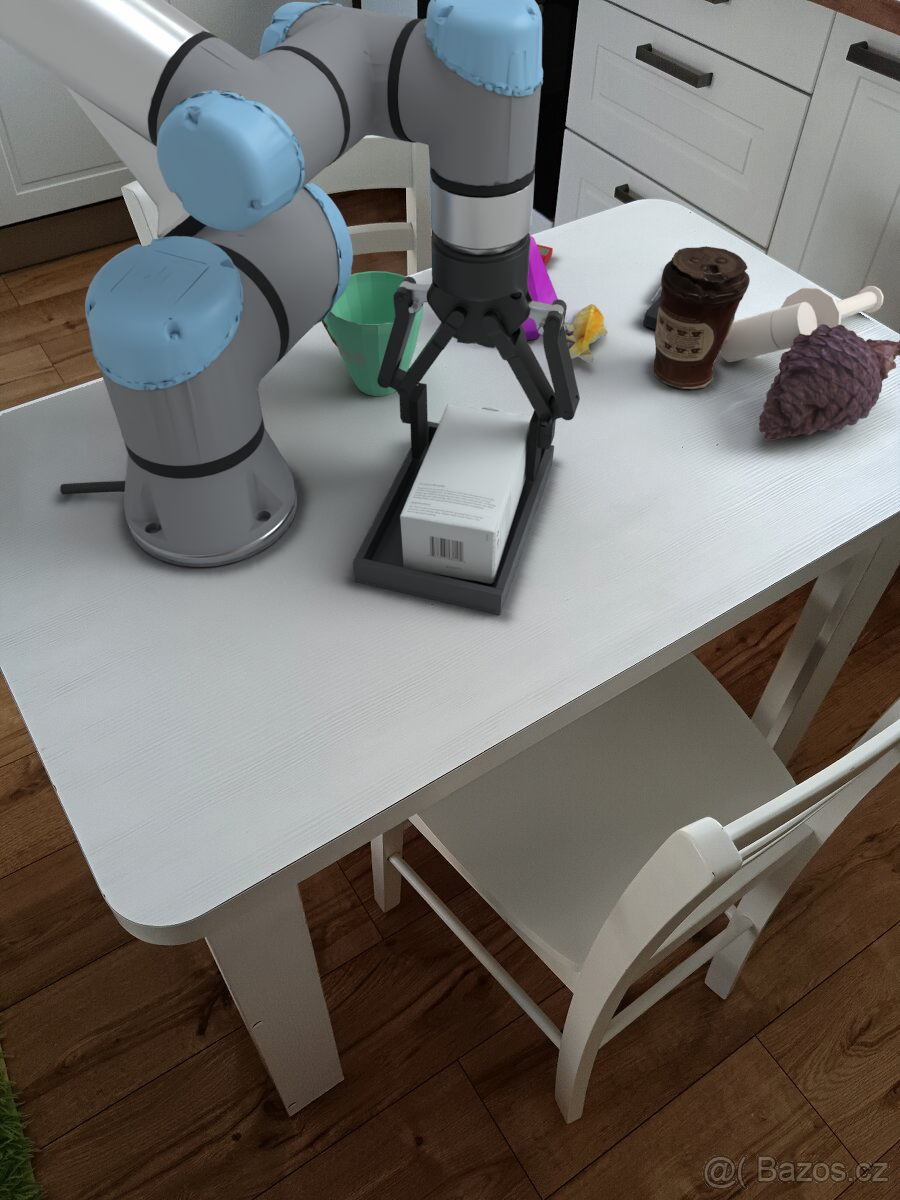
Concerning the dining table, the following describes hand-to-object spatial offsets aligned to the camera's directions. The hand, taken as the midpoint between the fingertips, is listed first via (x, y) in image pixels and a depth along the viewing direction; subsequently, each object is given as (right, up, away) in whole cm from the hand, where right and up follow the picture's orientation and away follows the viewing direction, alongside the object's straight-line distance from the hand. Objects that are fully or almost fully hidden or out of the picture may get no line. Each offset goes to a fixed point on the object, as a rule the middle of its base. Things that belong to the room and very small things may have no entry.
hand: (475, 460), depth 88 cm
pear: (+4, +19, +20) cm, 28 cm away
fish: (+10, +17, +18) cm, 26 cm away
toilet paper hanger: (+38, +15, +17) cm, 44 cm away
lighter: (+10, +29, +28) cm, 42 cm away
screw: (+23, +25, +25) cm, 42 cm away
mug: (-12, +11, +14) cm, 21 cm away
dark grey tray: (-2, -6, -1) cm, 6 cm away
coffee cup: (+22, +11, +14) cm, 29 cm away
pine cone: (+36, +5, +9) cm, 37 cm away
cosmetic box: (-3, -9, -10) cm, 14 cm away
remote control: (+25, +22, +23) cm, 41 cm away
